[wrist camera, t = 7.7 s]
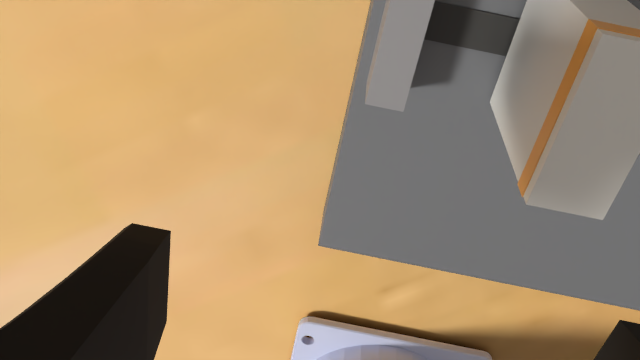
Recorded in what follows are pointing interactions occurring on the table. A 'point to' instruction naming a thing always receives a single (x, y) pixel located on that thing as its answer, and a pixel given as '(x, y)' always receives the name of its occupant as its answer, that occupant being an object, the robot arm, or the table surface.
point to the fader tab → (572, 103)
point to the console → (460, 163)
